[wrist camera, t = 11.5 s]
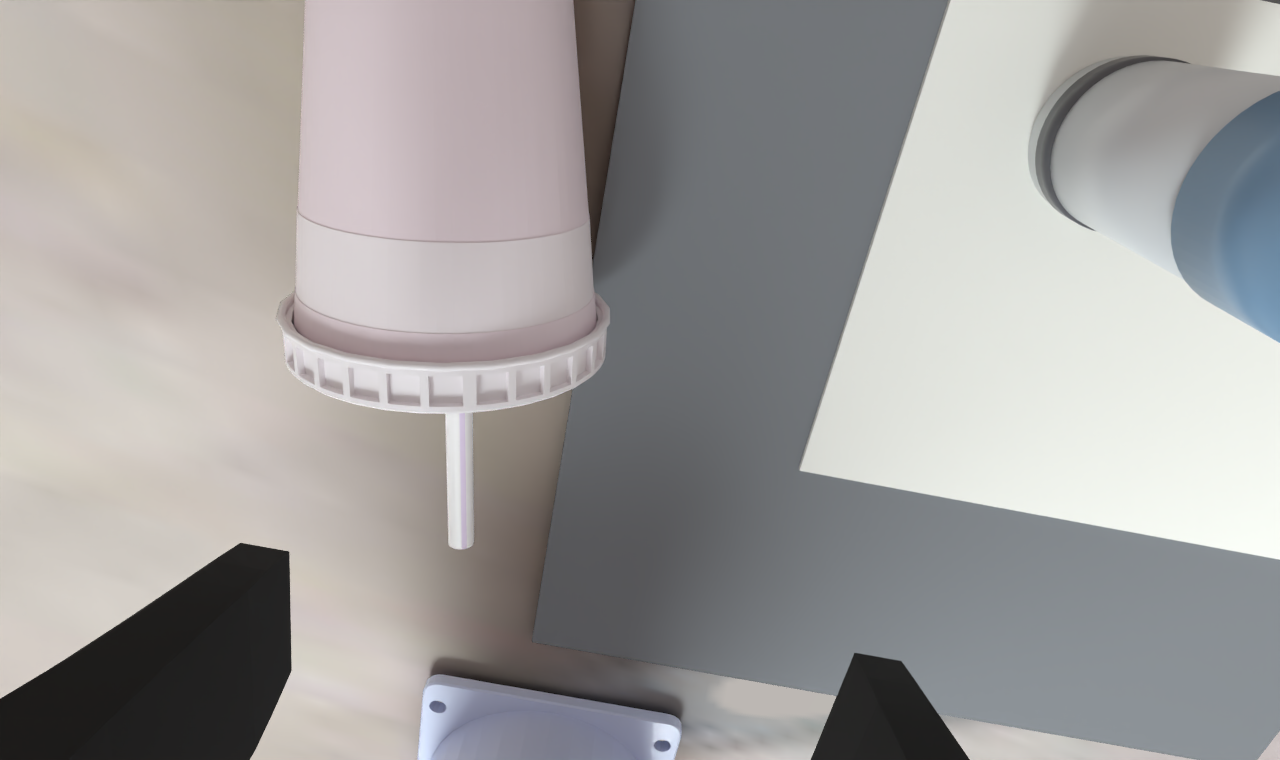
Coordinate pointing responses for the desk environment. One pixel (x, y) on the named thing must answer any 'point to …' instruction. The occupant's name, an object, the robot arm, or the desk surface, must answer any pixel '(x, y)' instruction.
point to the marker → (1173, 172)
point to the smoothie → (442, 215)
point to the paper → (1050, 305)
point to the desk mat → (784, 414)
